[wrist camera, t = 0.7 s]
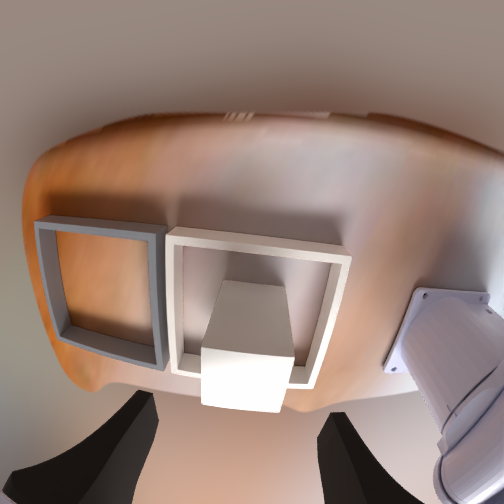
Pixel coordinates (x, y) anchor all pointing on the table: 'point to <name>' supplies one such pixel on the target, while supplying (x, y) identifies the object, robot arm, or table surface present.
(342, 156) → the table surface
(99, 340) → the bin
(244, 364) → the white rectangular block
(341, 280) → the bin
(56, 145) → the table surface
